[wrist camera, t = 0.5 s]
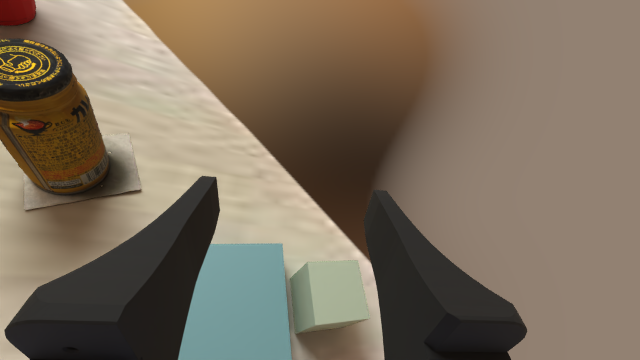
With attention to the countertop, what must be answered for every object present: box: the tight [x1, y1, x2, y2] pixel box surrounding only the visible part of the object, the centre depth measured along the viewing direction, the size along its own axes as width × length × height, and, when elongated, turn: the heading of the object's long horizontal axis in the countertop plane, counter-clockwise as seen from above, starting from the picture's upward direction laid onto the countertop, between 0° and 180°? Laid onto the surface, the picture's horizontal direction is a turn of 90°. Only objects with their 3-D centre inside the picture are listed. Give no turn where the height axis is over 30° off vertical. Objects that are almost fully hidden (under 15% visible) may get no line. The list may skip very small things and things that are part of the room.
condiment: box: [0, 39, 141, 210], centre depth 24 cm, size 7×8×12 cm
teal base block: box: [178, 244, 292, 360], centre depth 25 cm, size 10×10×4 cm
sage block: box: [290, 260, 370, 334], centre depth 27 cm, size 5×5×6 cm
